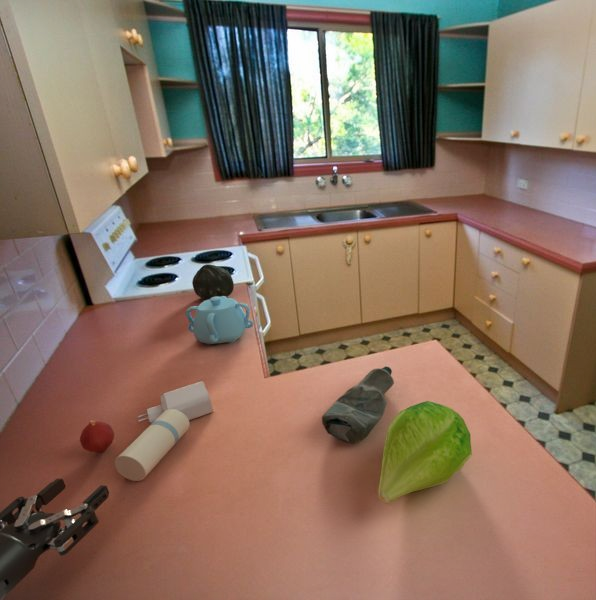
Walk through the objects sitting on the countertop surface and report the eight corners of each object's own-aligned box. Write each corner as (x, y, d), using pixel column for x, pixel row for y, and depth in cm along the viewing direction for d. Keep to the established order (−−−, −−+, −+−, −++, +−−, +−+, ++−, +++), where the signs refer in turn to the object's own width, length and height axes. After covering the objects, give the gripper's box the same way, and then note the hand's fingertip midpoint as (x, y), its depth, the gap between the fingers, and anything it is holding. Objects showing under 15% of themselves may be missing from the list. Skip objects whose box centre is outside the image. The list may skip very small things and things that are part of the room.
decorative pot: (208, 355, 126) (198, 314, 121) (187, 337, 136) (177, 299, 131) (258, 336, 137) (252, 297, 131) (235, 320, 147) (228, 284, 141)
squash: (230, 273, 176) (200, 253, 165) (246, 283, 166) (216, 262, 155) (209, 301, 174) (177, 282, 163) (224, 313, 164) (191, 294, 153)
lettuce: (430, 550, 70) (366, 510, 80) (494, 450, 84) (432, 426, 94) (406, 494, 63) (339, 457, 73) (480, 395, 77) (415, 375, 87)
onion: (84, 450, 90) (71, 420, 87) (114, 437, 94) (103, 407, 91) (89, 465, 87) (76, 434, 83) (121, 450, 90) (110, 420, 87)
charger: (139, 417, 100) (206, 394, 108) (142, 439, 93) (214, 413, 101) (133, 400, 98) (202, 378, 106) (136, 422, 91) (210, 397, 99)
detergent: (364, 454, 87) (414, 386, 107) (359, 426, 84) (411, 362, 105) (313, 439, 93) (369, 378, 113) (306, 413, 90) (365, 355, 111)
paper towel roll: (118, 478, 83) (165, 429, 96) (148, 483, 82) (192, 433, 95) (110, 453, 80) (160, 406, 93) (141, 458, 79) (187, 410, 92)
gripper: (-52, 591, 59) (56, 496, 73) (32, 610, 56) (127, 508, 70) (-78, 554, 56) (40, 462, 70) (10, 573, 53) (114, 473, 67)
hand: (84, 485), depth 70 cm, fingers open, 8 cm apart
